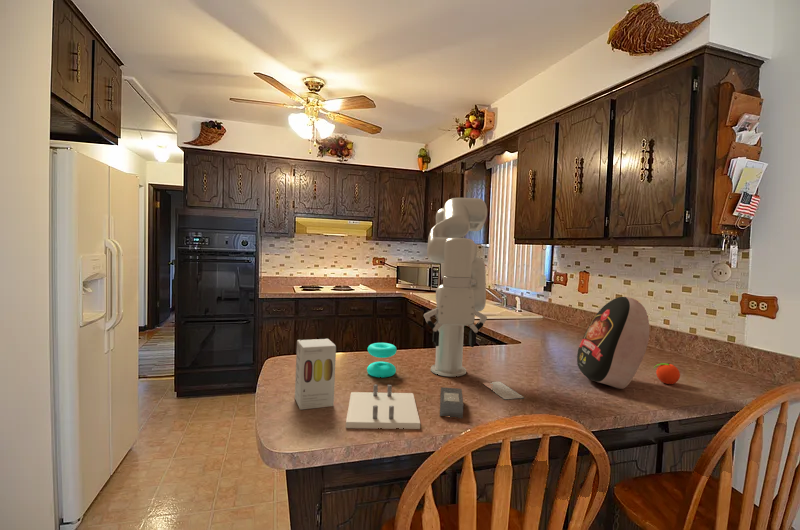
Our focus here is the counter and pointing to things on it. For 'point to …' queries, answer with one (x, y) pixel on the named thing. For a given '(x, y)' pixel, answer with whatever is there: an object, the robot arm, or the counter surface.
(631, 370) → the packaged food
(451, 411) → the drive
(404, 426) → the white peg board
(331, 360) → the supplement box
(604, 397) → the counter surface
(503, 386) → the smartphone
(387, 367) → the donuts
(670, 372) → the clementine
